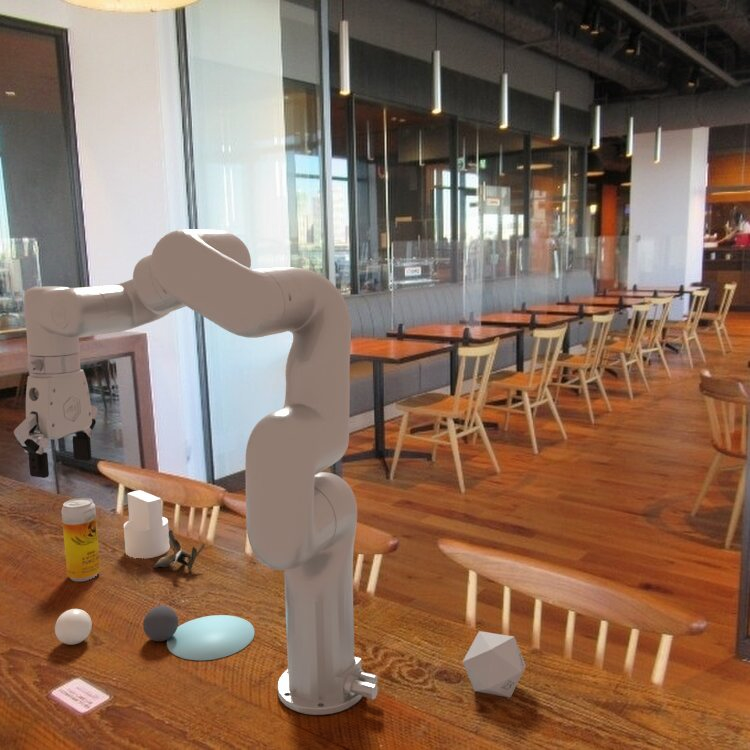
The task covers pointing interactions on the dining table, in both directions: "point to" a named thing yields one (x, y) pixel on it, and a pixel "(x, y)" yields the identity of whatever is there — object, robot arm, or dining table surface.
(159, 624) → the object ball
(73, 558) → the beer can
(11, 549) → the dining table surface
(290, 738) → the dining table surface
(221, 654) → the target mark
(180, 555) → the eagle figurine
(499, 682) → the die
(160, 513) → the base with upright slab
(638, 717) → the dining table surface
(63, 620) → the cue ball
